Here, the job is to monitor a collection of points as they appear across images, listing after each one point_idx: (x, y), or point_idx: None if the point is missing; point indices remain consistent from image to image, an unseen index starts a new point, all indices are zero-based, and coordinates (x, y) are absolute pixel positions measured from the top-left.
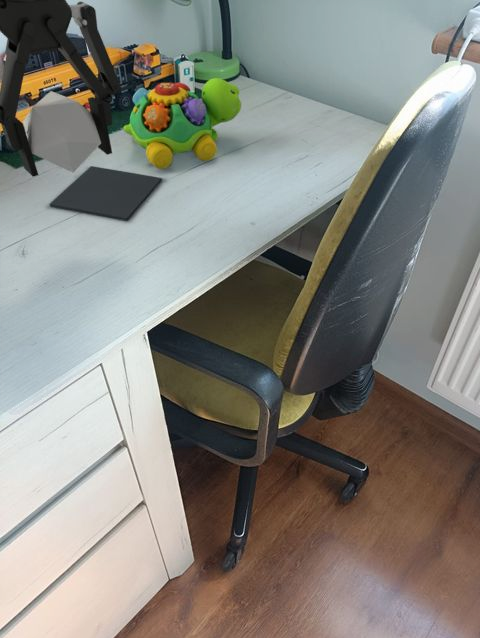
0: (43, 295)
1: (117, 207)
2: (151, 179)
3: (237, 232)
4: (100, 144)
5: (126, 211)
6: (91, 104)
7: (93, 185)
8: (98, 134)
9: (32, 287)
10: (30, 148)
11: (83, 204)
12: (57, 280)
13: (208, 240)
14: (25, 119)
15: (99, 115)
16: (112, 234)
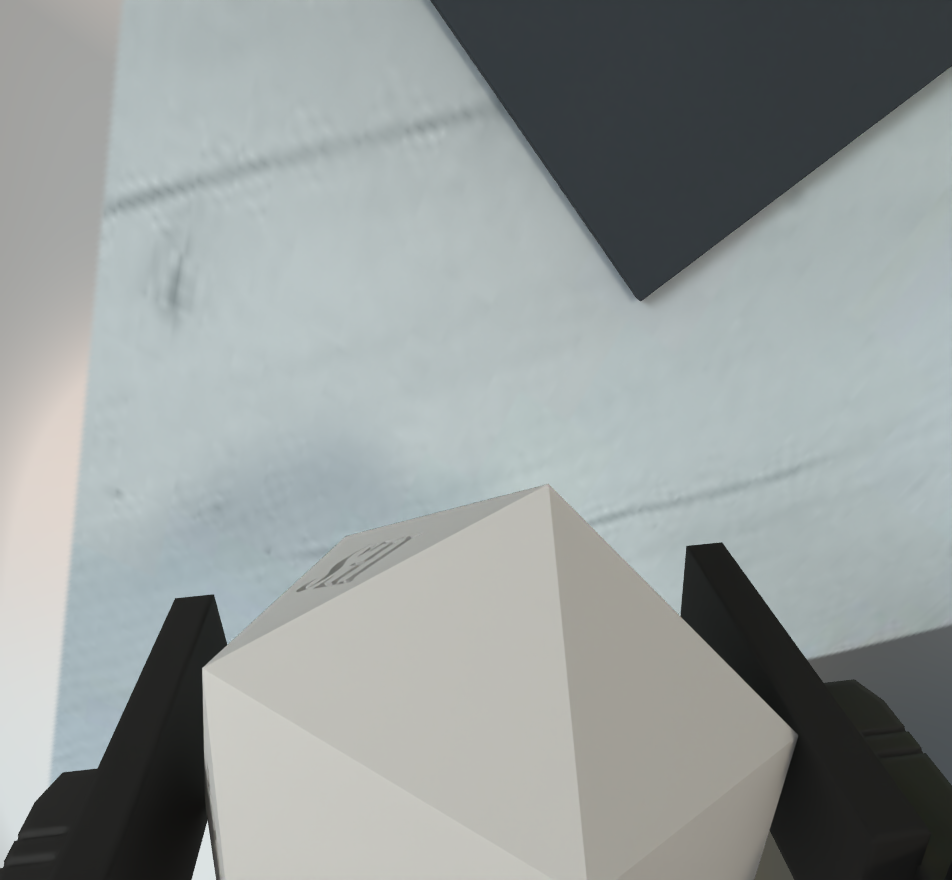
0: (197, 557)
1: (656, 191)
2: (950, 11)
3: (884, 561)
4: (697, 612)
5: (669, 247)
6: (839, 842)
7: None
8: (724, 660)
9: (170, 505)
10: (206, 805)
11: (538, 59)
12: (259, 511)
13: (783, 554)
14: (213, 782)
15: (793, 873)
16: (538, 355)
